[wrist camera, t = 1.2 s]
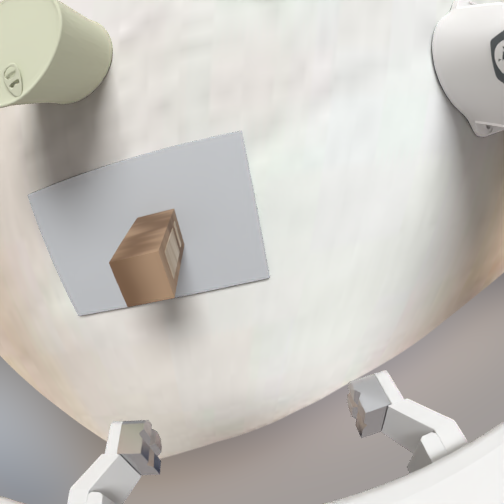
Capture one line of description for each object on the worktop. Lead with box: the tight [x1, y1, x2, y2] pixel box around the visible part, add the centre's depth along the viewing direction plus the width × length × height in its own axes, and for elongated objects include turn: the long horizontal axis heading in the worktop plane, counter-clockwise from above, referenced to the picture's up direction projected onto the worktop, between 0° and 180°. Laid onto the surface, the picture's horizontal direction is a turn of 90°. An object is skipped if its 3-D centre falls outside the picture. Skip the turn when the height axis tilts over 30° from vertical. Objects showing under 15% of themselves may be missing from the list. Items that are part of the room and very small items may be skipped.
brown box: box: [109, 209, 184, 307], centre depth 27 cm, size 4×4×10 cm
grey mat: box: [28, 131, 270, 316], centre depth 32 cm, size 24×16×1 cm, turn 101°
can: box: [0, 0, 112, 108], centre depth 18 cm, size 9×9×12 cm
